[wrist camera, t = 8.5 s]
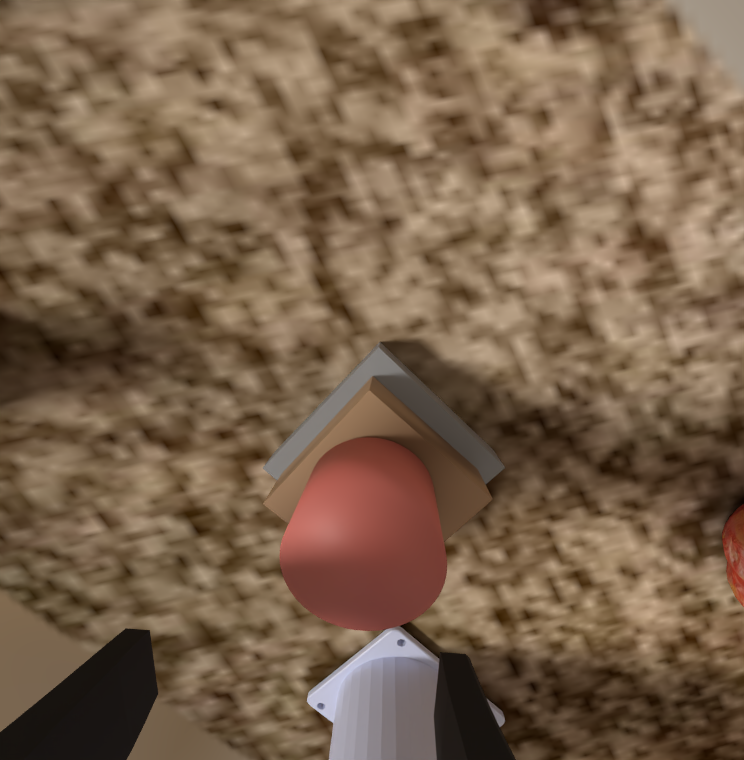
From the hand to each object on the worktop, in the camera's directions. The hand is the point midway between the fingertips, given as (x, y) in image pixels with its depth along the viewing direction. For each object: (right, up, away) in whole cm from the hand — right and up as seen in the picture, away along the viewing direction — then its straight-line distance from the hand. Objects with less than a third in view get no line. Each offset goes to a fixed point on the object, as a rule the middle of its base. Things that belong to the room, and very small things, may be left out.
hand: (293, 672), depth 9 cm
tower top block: (+2, +3, +8) cm, 9 cm away
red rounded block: (+2, +3, +5) cm, 6 cm away
